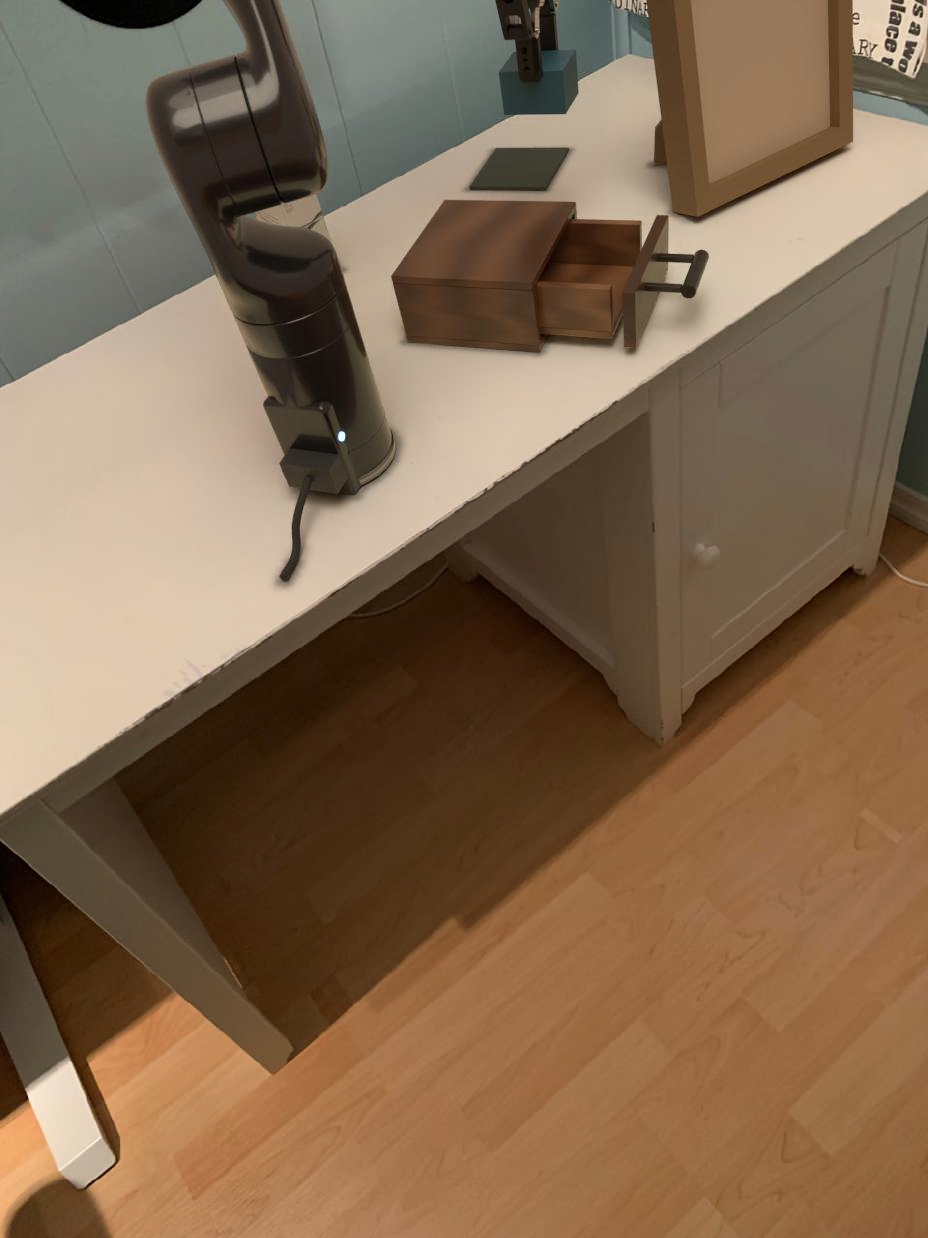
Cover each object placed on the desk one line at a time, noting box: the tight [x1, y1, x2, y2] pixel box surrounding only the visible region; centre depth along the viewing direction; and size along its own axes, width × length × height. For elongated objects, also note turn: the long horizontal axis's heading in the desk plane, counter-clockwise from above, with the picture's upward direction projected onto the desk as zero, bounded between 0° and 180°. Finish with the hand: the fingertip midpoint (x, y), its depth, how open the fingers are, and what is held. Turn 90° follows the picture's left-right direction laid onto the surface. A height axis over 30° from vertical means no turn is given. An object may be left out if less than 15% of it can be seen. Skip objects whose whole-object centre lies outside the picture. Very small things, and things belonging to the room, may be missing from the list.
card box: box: [498, 49, 579, 116], centre depth 87 cm, size 4×6×4 cm
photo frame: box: [645, 0, 854, 218], centre depth 93 cm, size 15×22×25 cm
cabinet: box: [390, 199, 578, 353], centre depth 90 cm, size 15×15×8 cm
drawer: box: [535, 214, 710, 349], centre depth 86 cm, size 18×13×6 cm
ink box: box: [253, 194, 334, 246], centre depth 100 cm, size 9×5×12 cm, turn 39°
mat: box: [469, 147, 570, 191], centre depth 111 cm, size 10×10×1 cm
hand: (539, 67), depth 86 cm, fingers closed on card box, 4 cm apart
